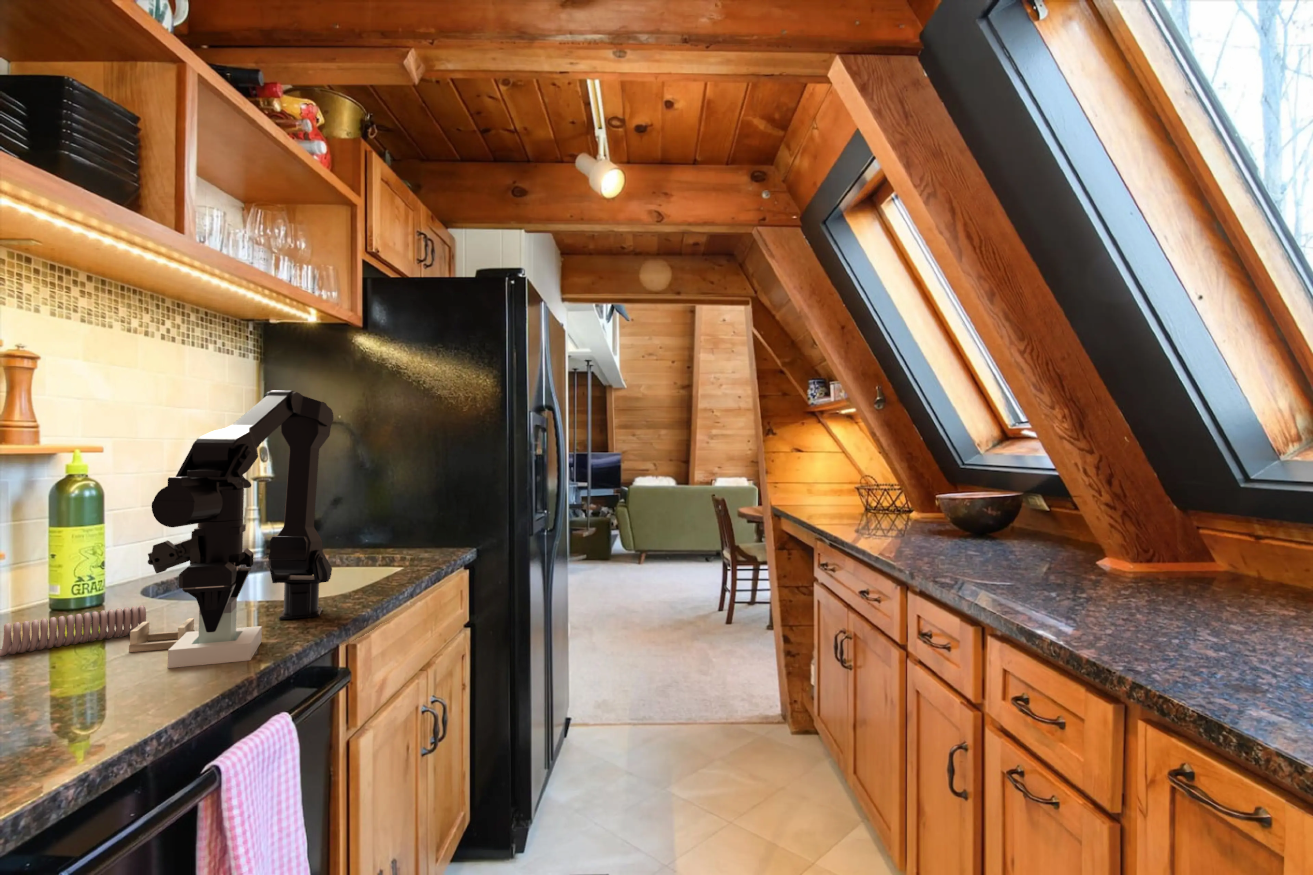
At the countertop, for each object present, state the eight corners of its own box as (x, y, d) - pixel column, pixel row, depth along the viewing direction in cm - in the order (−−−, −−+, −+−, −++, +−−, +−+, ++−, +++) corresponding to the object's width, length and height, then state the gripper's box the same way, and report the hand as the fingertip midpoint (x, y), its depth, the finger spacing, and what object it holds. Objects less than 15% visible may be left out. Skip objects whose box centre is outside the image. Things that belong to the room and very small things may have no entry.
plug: (204, 651, 101) (206, 598, 101) (235, 649, 102) (236, 596, 102) (198, 659, 97) (199, 604, 97) (230, 656, 98) (231, 602, 99)
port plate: (186, 648, 102) (187, 631, 102) (261, 641, 106) (261, 625, 106) (167, 668, 93) (168, 650, 93) (250, 660, 97) (250, 642, 97)
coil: (144, 603, 113) (-4, 623, 100) (152, 604, 110) (0, 625, 97) (144, 631, 113) (-5, 655, 99) (152, 633, 110) (-1, 658, 96)
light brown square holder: (143, 640, 106) (144, 621, 106) (194, 635, 109) (194, 617, 109) (128, 652, 100) (129, 632, 100) (183, 647, 103) (183, 627, 103)
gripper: (174, 515, 105) (171, 614, 105) (134, 528, 88) (130, 646, 88) (255, 513, 110) (252, 608, 109) (232, 525, 93) (229, 638, 92)
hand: (218, 624), depth 100 cm, fingers open, 9 cm apart
